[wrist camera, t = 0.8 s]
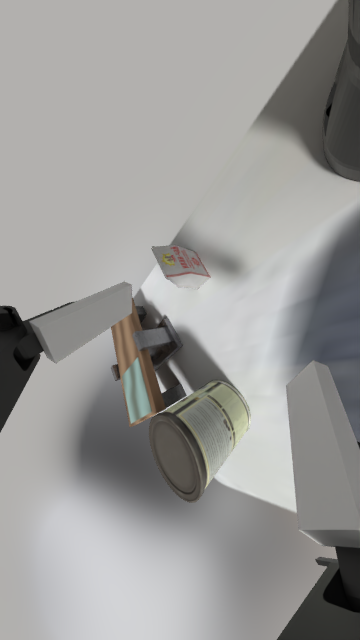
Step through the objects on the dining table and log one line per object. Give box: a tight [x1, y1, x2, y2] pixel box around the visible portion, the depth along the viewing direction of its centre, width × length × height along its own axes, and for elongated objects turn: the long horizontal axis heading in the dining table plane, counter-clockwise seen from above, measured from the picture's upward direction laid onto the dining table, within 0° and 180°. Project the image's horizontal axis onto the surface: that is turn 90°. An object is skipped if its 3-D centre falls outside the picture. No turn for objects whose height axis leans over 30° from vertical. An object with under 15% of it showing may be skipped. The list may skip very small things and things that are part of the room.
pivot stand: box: [111, 306, 187, 408], centre depth 42 cm, size 20×28×10 cm
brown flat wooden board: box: [111, 298, 166, 427], centre depth 40 cm, size 15×28×2 cm, turn 41°
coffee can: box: [149, 380, 251, 503], centre depth 26 cm, size 10×10×14 cm
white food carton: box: [152, 245, 210, 289], centre depth 30 cm, size 4×7×10 cm, turn 34°
